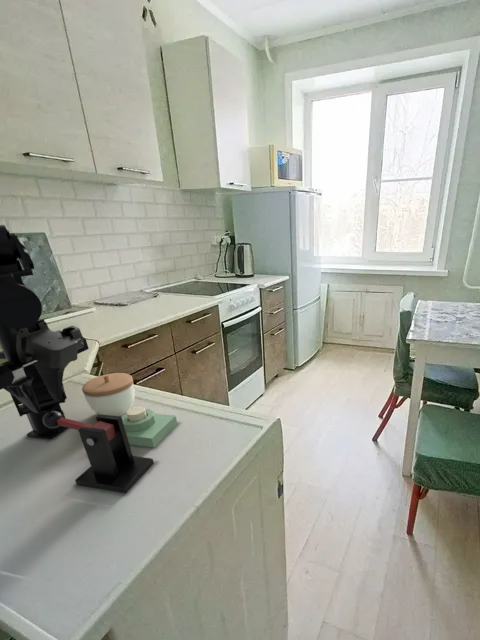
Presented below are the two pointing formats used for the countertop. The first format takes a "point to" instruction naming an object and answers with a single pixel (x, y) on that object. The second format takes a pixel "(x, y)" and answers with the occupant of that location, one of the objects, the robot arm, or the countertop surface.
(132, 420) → the timer button
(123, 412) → the trinket box
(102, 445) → the lever stand
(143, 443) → the green button pad
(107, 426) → the red lever
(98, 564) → the countertop surface
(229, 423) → the countertop surface
